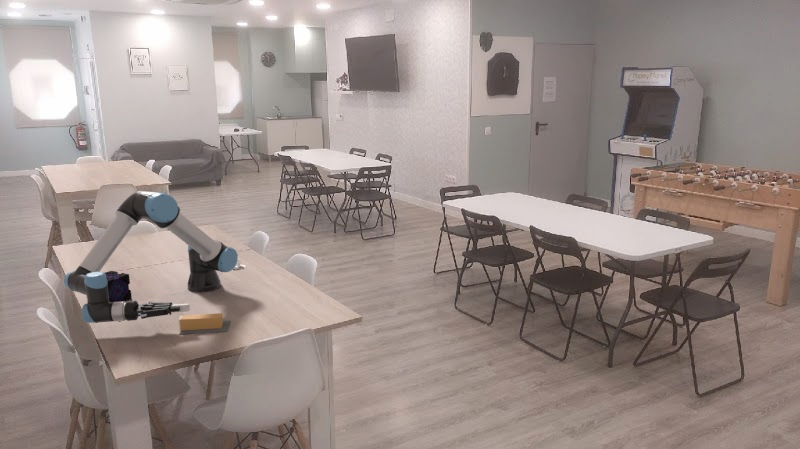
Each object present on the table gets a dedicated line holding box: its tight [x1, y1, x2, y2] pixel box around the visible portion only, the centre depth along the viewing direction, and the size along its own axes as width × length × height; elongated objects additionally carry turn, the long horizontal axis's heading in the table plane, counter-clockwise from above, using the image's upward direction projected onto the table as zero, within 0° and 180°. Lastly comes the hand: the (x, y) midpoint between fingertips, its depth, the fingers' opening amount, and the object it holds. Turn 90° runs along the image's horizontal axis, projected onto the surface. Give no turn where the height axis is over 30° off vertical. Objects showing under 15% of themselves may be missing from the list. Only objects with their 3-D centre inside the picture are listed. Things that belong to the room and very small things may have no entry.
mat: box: [179, 319, 232, 335], centre depth 240 cm, size 18×11×1 cm, turn 98°
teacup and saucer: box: [233, 259, 247, 270], centre depth 321 cm, size 9×8×4 cm
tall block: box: [178, 312, 224, 332], centre depth 240 cm, size 4×4×16 cm
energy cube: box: [104, 270, 133, 302], centre depth 270 cm, size 12×12×12 cm
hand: (189, 307), depth 238 cm, fingers closed
